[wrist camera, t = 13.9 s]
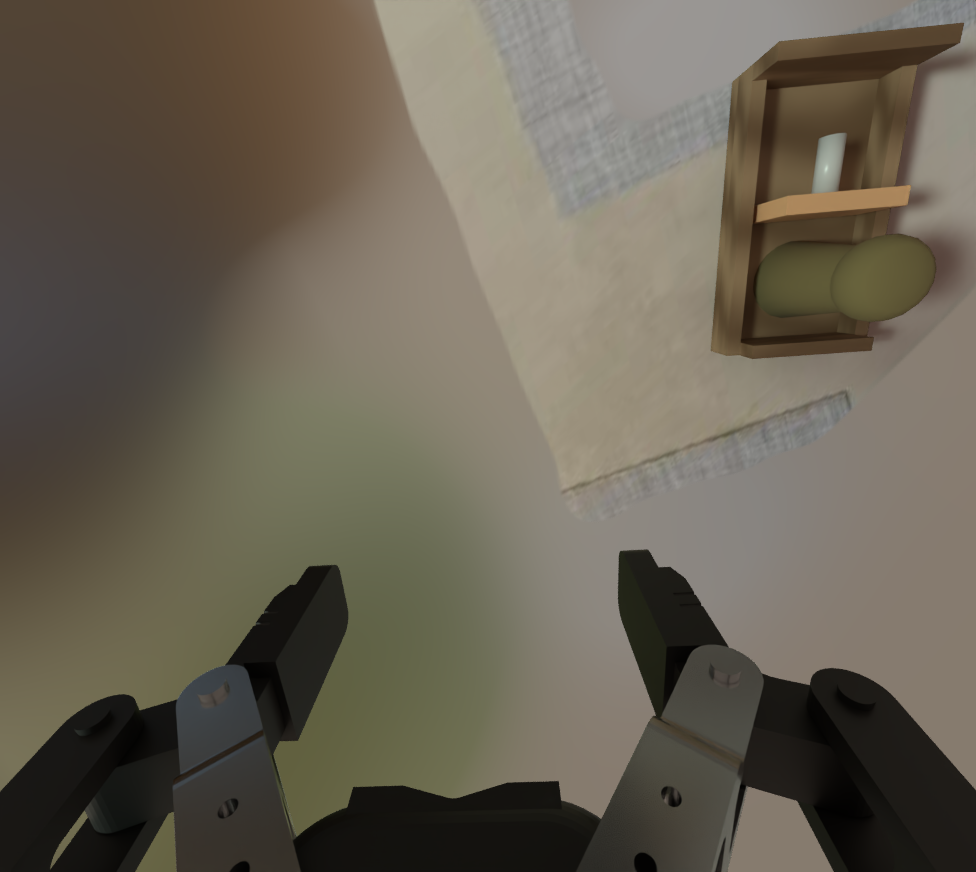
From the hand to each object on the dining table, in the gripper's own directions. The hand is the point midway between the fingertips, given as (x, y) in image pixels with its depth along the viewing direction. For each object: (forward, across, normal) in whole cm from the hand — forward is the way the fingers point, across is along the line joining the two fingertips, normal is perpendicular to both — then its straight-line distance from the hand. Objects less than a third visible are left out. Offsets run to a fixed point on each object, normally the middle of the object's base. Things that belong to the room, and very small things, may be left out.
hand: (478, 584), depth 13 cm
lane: (+30, -25, -11) cm, 41 cm away
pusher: (+29, -25, -13) cm, 40 cm away
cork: (+29, -25, -6) cm, 39 cm away
